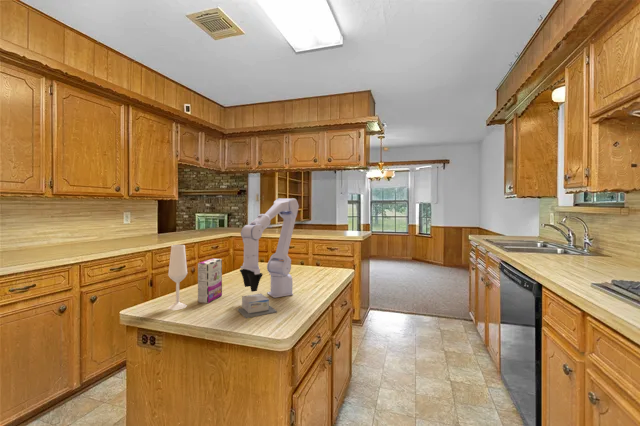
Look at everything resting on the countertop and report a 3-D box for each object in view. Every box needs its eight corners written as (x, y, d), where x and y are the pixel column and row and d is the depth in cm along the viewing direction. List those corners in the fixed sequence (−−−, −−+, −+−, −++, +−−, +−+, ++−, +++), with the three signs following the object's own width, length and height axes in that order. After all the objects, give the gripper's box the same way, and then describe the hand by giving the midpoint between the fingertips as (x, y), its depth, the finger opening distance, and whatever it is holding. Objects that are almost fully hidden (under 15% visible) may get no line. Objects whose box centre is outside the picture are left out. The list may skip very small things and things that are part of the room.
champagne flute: (183, 303, 120) (183, 244, 120) (189, 307, 115) (190, 245, 115) (165, 306, 115) (166, 245, 115) (171, 311, 111) (171, 247, 110)
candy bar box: (212, 294, 132) (212, 258, 131) (222, 295, 131) (222, 258, 130) (196, 302, 121) (197, 262, 120) (207, 303, 120) (208, 263, 119)
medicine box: (241, 307, 115) (248, 314, 108) (241, 295, 115) (248, 302, 108) (261, 303, 119) (269, 310, 112) (261, 292, 119) (269, 299, 112)
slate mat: (267, 305, 120) (267, 303, 120) (276, 312, 112) (276, 311, 112) (237, 310, 113) (237, 308, 113) (245, 318, 105) (245, 316, 105)
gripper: (235, 253, 122) (235, 285, 123) (247, 258, 110) (247, 294, 110) (252, 251, 126) (251, 283, 126) (265, 257, 114) (264, 292, 114)
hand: (250, 288), depth 119 cm, fingers open, 7 cm apart
